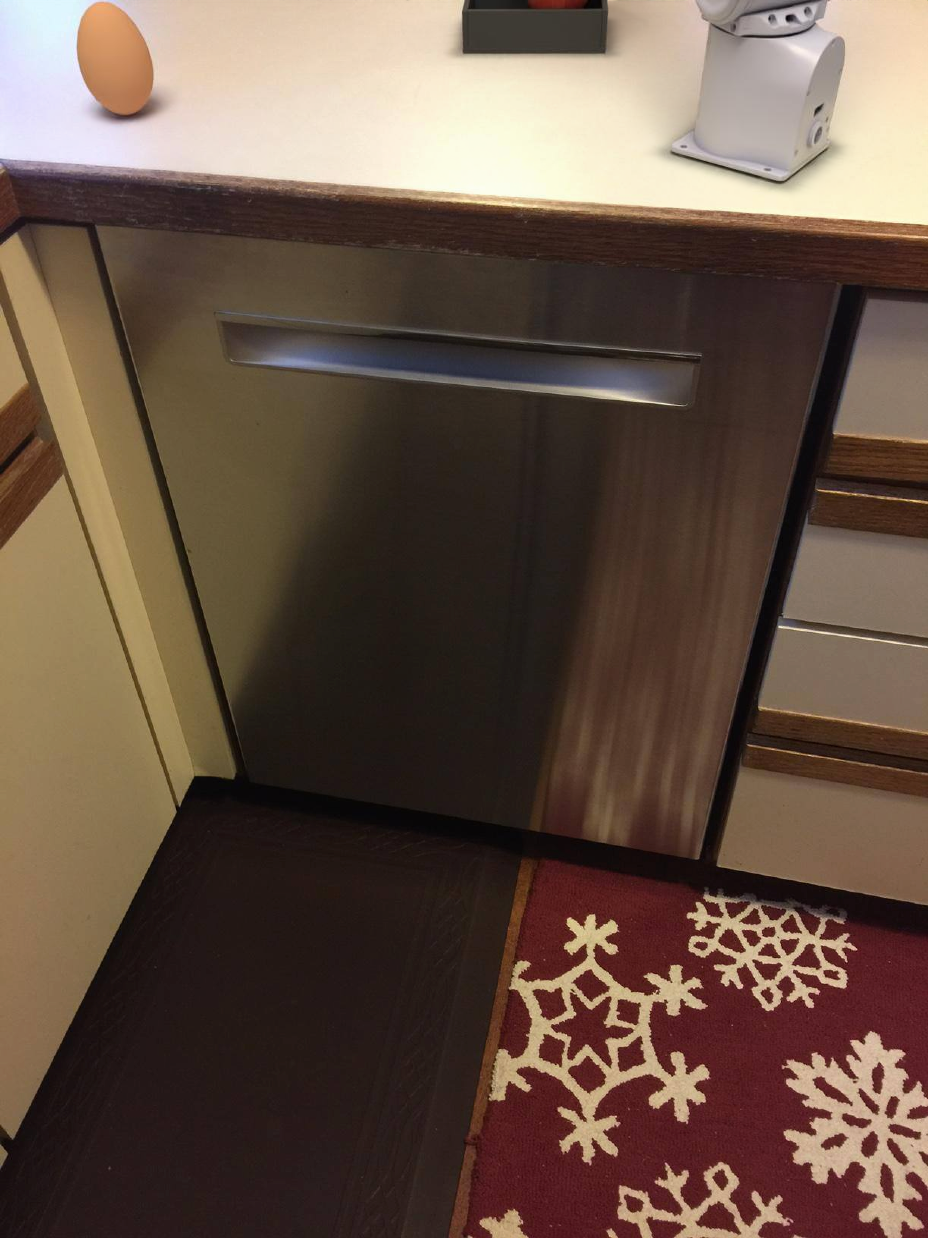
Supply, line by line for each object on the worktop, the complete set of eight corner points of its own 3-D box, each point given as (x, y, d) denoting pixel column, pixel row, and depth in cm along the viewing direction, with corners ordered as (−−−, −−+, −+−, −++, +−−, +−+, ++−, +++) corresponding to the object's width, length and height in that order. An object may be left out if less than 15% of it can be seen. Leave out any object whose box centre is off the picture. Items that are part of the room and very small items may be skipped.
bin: (603, 21, 99) (606, -20, 97) (605, 52, 93) (608, 10, 91) (469, 22, 100) (468, -19, 98) (462, 53, 94) (461, 10, 92)
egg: (83, 110, 87) (52, 0, 81) (147, 94, 89) (122, -15, 83) (107, 132, 84) (76, 19, 78) (173, 115, 86) (148, 3, 80)
